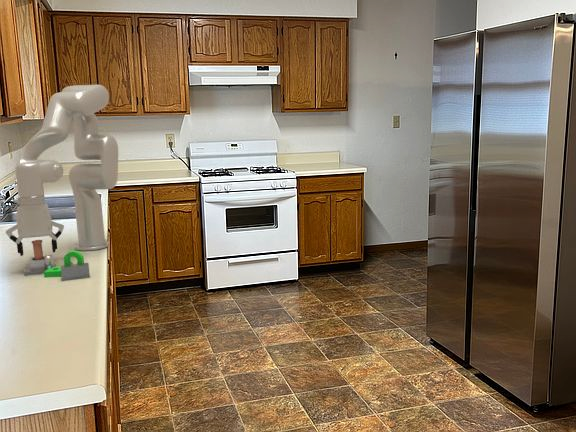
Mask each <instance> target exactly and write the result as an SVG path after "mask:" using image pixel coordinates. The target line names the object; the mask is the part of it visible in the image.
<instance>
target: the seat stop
mask: <svg viewBox="0 0 576 432" xmlns="http://www.w3.org/2000/svg"><path fill="white" fill-rule="evenodd" d="M89 264H90V263H89V262H84V263H80V264H77V263H73V264H71V265H64V264H63V265H60V266H61V275H62V277H61V281H62V282H64V281H71V280H81V279H87V278H90V277H91V276H90V275H91V274H90V265H89Z"/></svg>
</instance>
